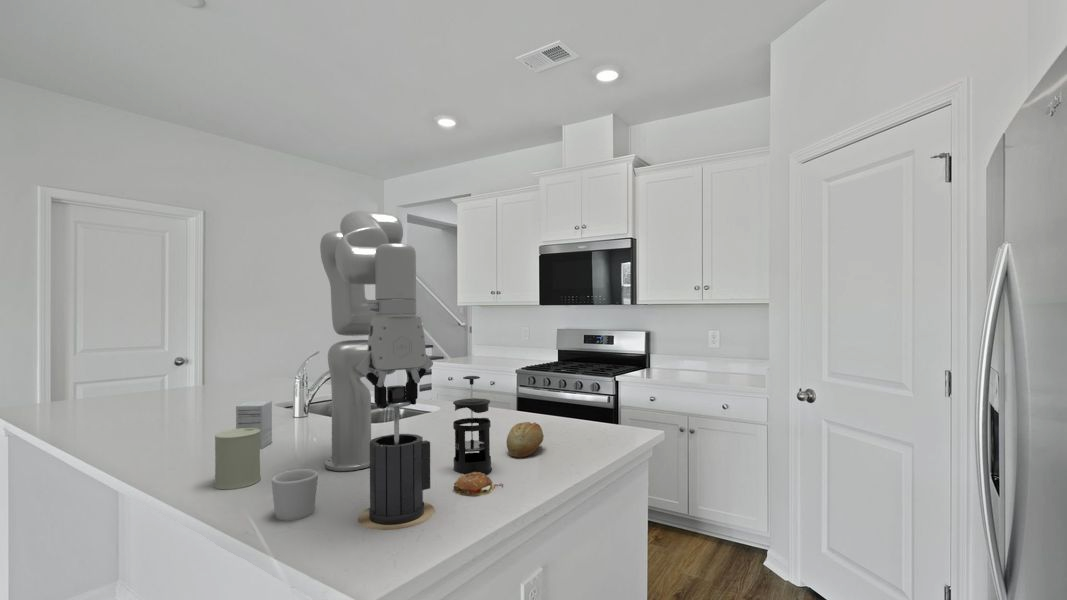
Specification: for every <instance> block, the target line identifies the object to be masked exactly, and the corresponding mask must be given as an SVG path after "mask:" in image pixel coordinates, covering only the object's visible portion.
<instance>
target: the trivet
mask: <svg viewBox="0 0 1067 600" xmlns="http://www.w3.org/2000/svg"><path fill="white" fill-rule="evenodd" d="M423 502H424V514H423V515H422V516H421V517H420V518H418V519H416V520H414V521H411V522H408V523H404V524H398V525H381V524H376V523H373V522H372V521H370V519H369V508H370V507H368V508H366V509H365V510H363V511H362V512H360V514H358V517H357V522H358V523H359V525H360V526H362V527H363V528H366V529H370V530H376V531H396V530H403V529H407V528H412V527H415V526H419V525H421V524H423V523H425V522H427V521H429V520H430V519H432V518H433V516H434V515H435V514H436V513H435V512H436V509H435V506H433V505H432V504H431V503H429V502H426V501H423Z"/></svg>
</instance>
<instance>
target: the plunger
mask: <svg viewBox="0 0 1067 600" xmlns="http://www.w3.org/2000/svg"><path fill="white" fill-rule="evenodd" d="M386 389H387V407H386V408H393V416H394V417H393V434H394V445H399V434H400V408H403V407H409V406H411V405H412V404H411V401H410V400H406V385H390V386H386Z"/></svg>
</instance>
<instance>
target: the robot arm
mask: <svg viewBox="0 0 1067 600" xmlns="http://www.w3.org/2000/svg"><path fill="white" fill-rule="evenodd" d="M339 227H340V230H335V231H329V232H326V233H325V234H323V235H322V237H321V239H320V243H319V244H320V245H319V246H320V247H319V249H320V258H321V259H320V260H321V263H322V266H323V268H324V272H325V274H326V276H327V279H328V281H329V282H328V283H329V286H330V303H331V304H330V305H331V321H332V327H333V331H334V332H335V333H336V334H337V335H339V336H345V337H346V336H347V337H348V336H352V337H358V336H368V338H367V339H353V340H342V341H338V342H335V343H333V344H332V345H331V346H330V347H329V349H328V352H327V363H328V364H327V365H328V370H329V376H330V377H329V378H330V385H331V386H330V388H331V457H330V458H328V459H326V461H325V462H324V463H325V468H326V470H329V471H335V472H347V471H348V472H350V471H358V470H361V469H362V470H363V469H366V468H370V442H371V440H372V394H371V392H370V389H369V388H368V386H367V385H366V384H365V383H364V382H363V380H361V378H364V377H365V379H367V381H369V382H370V383H371V385H372V386H374V387H373V388H374V390H373V393H374V404H375V405H376V407H377V408H379V409H383V410H384V409H386V408H388V407H387V386H385V381H386V377H387V376H388V375H392V374H394V373H395V372H396V371H405V373H406V375H407V381H406V382H405V386H406V400H410V401H411V404H410V405H413V406H414V405H416V404H417V399H418V397H419V396H418V387H419V386H418V383H420V381H421V379H422V378H423V377H424V376H425V374H426V373H427V371H429V370H430V368H432V366H434V362H433V361H432V359H431V358H430V357H429V356H428V354H427V353H426V351H427V350H426V341H425V339H426V338H425V332H424V325H423V321H422V318H421V317H422V316H417V254H416V250H415V248H414V247H413V246H412V245H411V244H410V245H409V244H407V243H402V241H403V238H404V237H403V236H404V230H403V229H404V228H403V224H402V222H401V219H400V218H399V217H398V216H396V215H394V214H392V213H386V212H374V211H363V210H360V211H359V210H358V211H357V210H355V211H351V212H349V213H346V214H345V215H344V216H343V217H342V219H341V221H340V226H339ZM365 285H375V286H374V288H375V289H374V291H375V294H374V295H375V296H374V298H375V299H367V298H366V292H365V290H366V289H365Z"/></svg>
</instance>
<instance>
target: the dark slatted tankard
mask: <svg viewBox="0 0 1067 600" xmlns="http://www.w3.org/2000/svg"><path fill="white" fill-rule="evenodd" d="M429 489H431V441H429V440H427V439H426V440H423V436H421V435H419V434H413V433H399V445H394V433H393V434H387V435H381V436H377V437H375V438H373V439H372V438H371V442H370V467H369V507H368V508H369V519H370V521H372V522H373V523H376V524H381V525H398V524H404V523H408V522H411V521H414V520H416V519H418V518H420V517H421V516H422V515H423V514H424V502H425V501H424V491H425V490H426V491H427V490H429Z"/></svg>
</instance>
